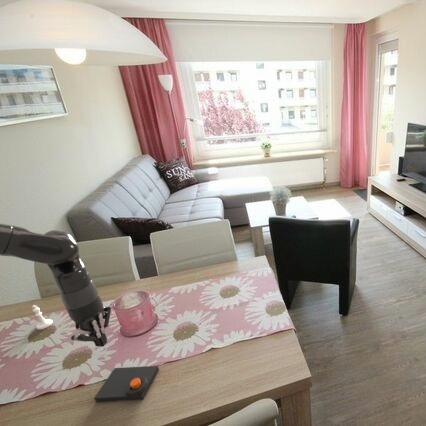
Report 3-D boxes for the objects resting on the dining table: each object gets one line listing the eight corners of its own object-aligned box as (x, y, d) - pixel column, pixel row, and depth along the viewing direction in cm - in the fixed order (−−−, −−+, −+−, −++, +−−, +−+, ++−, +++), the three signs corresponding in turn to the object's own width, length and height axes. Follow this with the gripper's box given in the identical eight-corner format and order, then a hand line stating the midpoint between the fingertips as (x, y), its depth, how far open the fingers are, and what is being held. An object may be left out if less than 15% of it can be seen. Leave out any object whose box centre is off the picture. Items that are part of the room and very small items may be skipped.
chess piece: (42, 320, 119) (31, 301, 115) (55, 319, 119) (45, 300, 115) (33, 330, 114) (21, 310, 110) (46, 328, 115) (35, 309, 111)
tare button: (138, 389, 87) (136, 385, 86) (129, 389, 87) (128, 386, 86) (143, 381, 89) (141, 377, 89) (134, 381, 89) (132, 378, 89)
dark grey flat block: (143, 400, 87) (140, 392, 85) (95, 403, 87) (91, 395, 85) (159, 369, 96) (157, 362, 95) (116, 371, 96) (112, 364, 95)
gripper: (86, 283, 86) (105, 327, 93) (47, 316, 74) (72, 364, 81) (111, 283, 86) (128, 327, 93) (76, 316, 74) (98, 364, 81)
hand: (102, 344), depth 87 cm, fingers closed
